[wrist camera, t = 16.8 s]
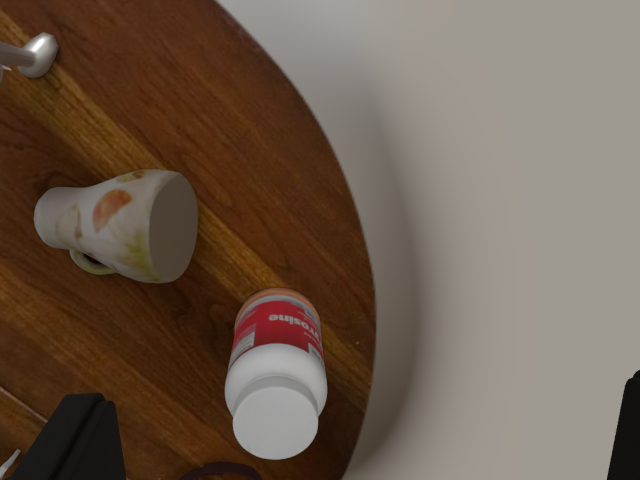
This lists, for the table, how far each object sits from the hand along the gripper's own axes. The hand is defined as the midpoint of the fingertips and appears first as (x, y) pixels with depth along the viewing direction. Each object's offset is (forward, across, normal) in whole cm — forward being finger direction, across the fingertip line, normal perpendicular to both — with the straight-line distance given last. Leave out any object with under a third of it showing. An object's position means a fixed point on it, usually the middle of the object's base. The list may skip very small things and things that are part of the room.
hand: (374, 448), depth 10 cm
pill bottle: (+28, +2, +12) cm, 30 cm away
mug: (+28, +12, +3) cm, 31 cm away
